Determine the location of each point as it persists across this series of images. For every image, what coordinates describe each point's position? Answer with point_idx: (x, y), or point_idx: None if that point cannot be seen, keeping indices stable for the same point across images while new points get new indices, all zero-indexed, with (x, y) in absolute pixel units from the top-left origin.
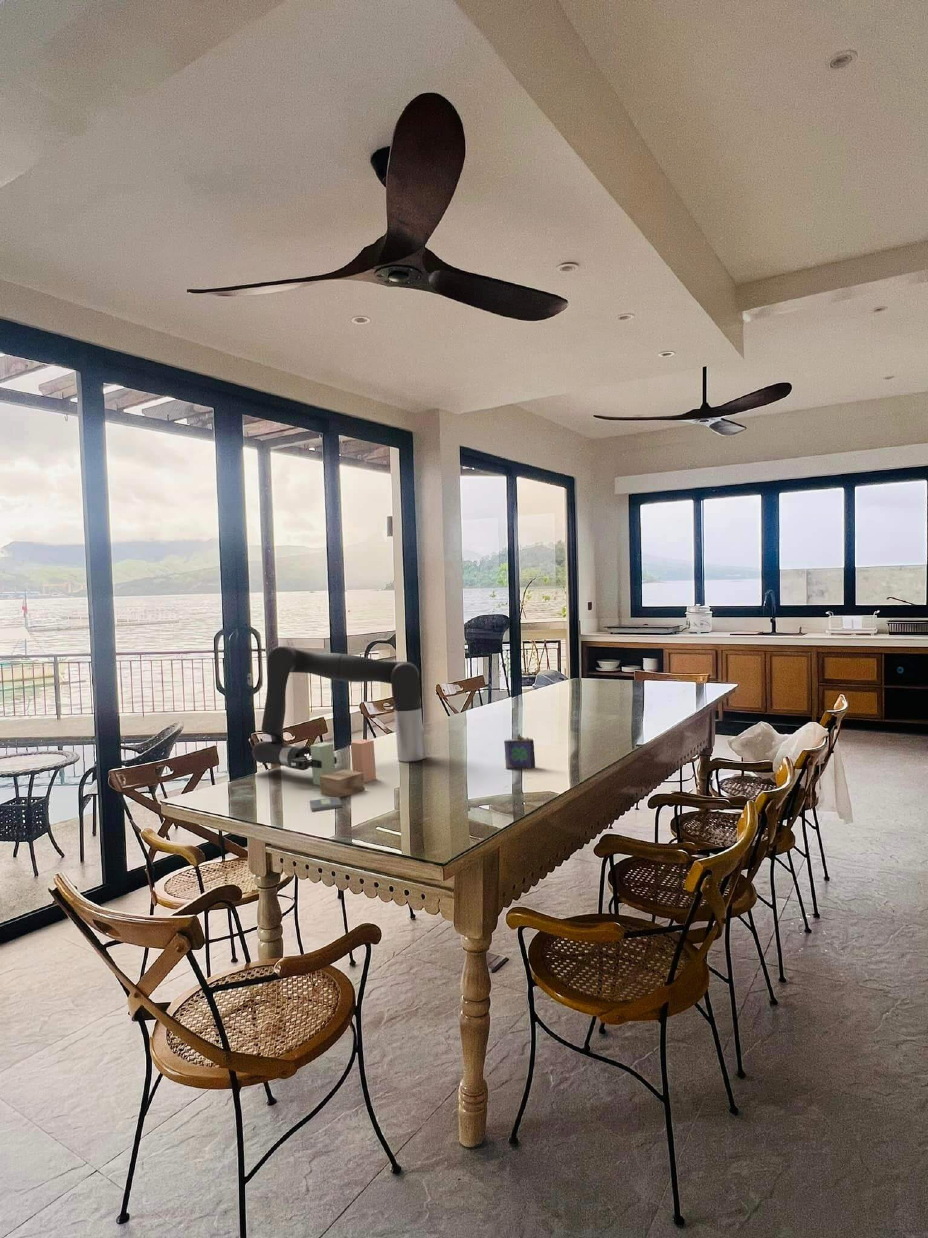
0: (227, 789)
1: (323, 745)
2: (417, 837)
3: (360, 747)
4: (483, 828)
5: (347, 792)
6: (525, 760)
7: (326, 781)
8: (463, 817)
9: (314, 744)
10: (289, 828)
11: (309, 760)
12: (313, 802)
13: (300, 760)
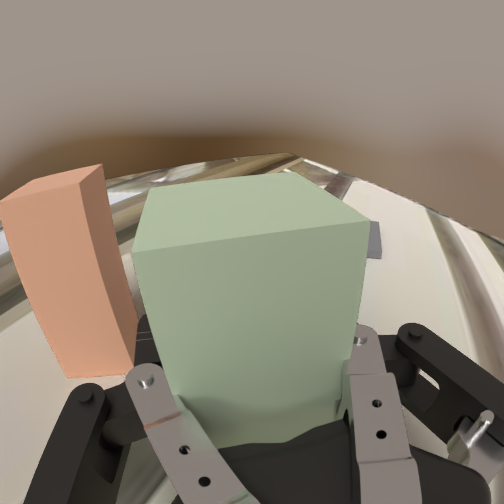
0: None
1: (247, 180)
2: (275, 165)
3: (104, 182)
4: (215, 163)
5: None
6: None
7: None
8: (203, 172)
9: (307, 223)
10: (414, 203)
11: (372, 333)
12: (372, 240)
13: (452, 356)
